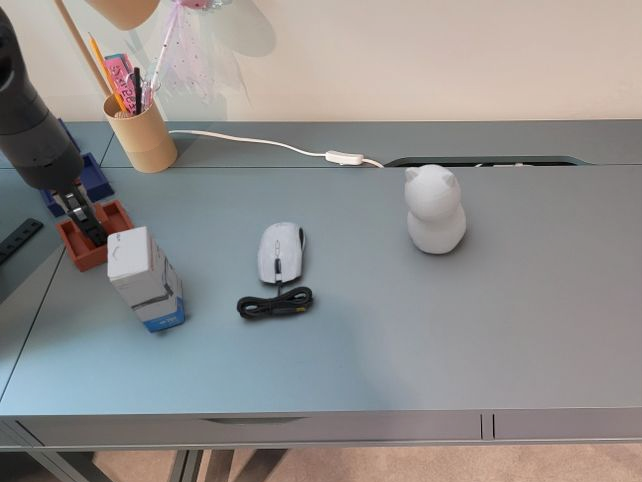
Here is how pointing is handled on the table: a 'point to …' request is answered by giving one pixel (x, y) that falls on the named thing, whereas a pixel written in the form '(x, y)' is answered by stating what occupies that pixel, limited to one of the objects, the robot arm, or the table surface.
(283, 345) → the table surface
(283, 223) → the computer mouse
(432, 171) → the cat figurine
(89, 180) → the navy tray
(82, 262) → the terracotta tray
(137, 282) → the ink box
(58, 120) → the navy block
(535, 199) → the table surface
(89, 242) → the terracotta block
